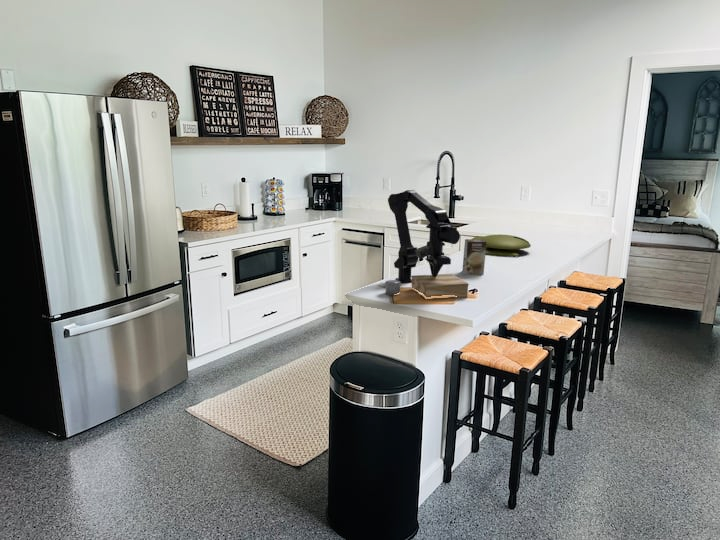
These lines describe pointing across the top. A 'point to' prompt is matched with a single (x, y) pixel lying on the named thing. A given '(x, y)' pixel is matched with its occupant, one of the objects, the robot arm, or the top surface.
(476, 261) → the coffee box
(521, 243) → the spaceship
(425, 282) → the lid
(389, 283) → the grey domed cylinder
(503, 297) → the top surface
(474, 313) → the top surface
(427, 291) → the box
